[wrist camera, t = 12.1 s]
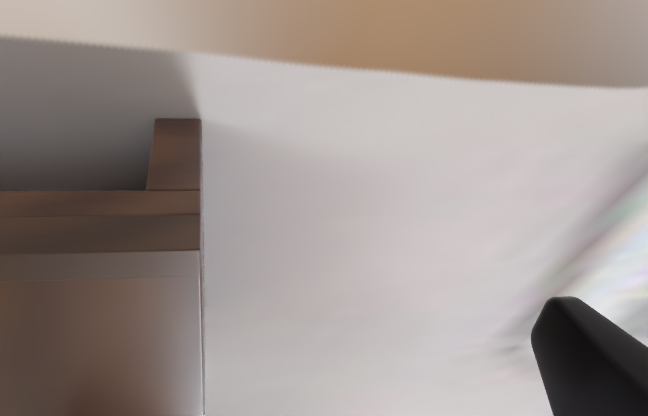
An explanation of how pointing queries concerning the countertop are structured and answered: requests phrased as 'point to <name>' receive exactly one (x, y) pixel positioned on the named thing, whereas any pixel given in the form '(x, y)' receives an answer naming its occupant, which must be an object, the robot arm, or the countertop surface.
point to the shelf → (107, 292)
